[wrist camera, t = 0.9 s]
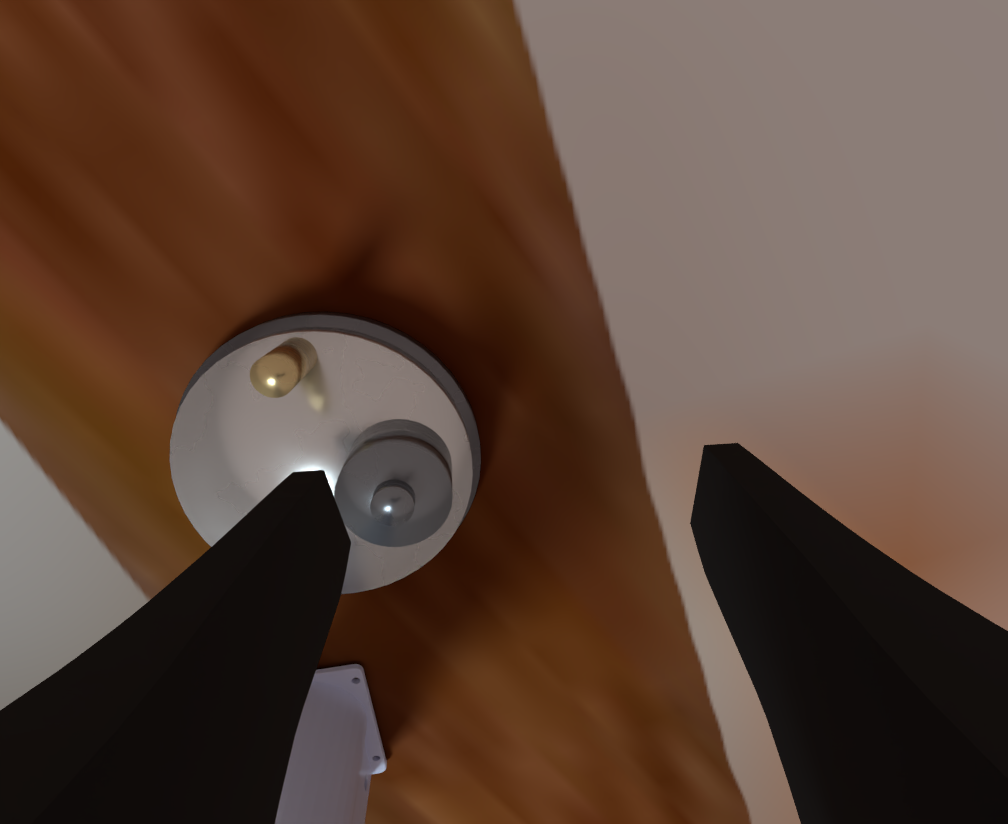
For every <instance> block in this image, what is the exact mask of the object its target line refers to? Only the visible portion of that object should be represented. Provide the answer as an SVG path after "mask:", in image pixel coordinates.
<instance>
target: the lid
mask: <svg viewBox="0 0 1008 824" xmlns="http://www.w3.org/2000/svg"><path fill="white" fill-rule="evenodd" d="M334 498H335V501H336V503H337V506H338V509H339V511H340V514H341V517H342V519H343V522H344V524H345V525H346V526H347V528H348V529H349V530H350V531H352V532H353V533H354V534H355V535H357V536H358V537H360V538H361V539H363V540H365V541H367V542H370V543H373V544H376V545H380V546H386V547H403V546H408V545H413V544H416V543H419V542H421V541H423V540H425V539H427V538H428V537H430V536H431V535H433V534H434V533H435V532H436V531H437V530H438V529H439V528H440V527H441V526H442V525H443V524H444V522H445V521H446V519H447V517H448V515H449V513H450V510H451V506H452V498H453V493H452V460H451V455H450V452H449V450H448V447H447V446H446V444H445V442H444V441H443V440H442V438H441V437H440V436H439V435H438V434H437V433H436V432H435V431H433V430H432V429H431V428H429V427H427V426H426V425H423V424H421V423H419V422H415V421H412V420H406V419H391V420H386V421H382V422H379V423H376V424H374V425H372V426H370V427H369V428H367V429H366V430H365V431H363V432H362V433H361V434H360V435H359V436H358V437H357V438H356V440H355V441H354V443H353V445H352V447H351V449H350V451H349V453H348V456H347V458H346V460H345V462H344V465H343V467H342V469H341V472H340V474H339V476H338V479H337V482H336V485H335V491H334Z"/></svg>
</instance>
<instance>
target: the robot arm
mask: <svg viewBox="0 0 1008 824" xmlns="http://www.w3.org/2000/svg"><path fill="white" fill-rule="evenodd" d="M690 524H691V527H692V530H693V534H694V538H695V541H696V545H697V549H698V552H699V555H700V558H701V562H702V565H703V568H704V572H705V574H706V577H707V579H708V581H709V584H710V586H711V589H712V591H713V593H714V596H715V598H716V600H717V602H718V605H719V607H720V609H721V612H722V614H723V616H724V619H725V621H726V623H727V625H728V628H729V630H730V632H731V635H732V637H733V639H734V642H735V644H736V646H737V648H738V651H739V653H740V655H741V657H742V660H743V662H744V664H745V667H746V669H747V671H748V674H749V676H750V678H751V680H752V683H753V685H754V687H755V689H756V692H757V694H758V697H759V700H760V702H761V705H762V707H763V710H764V712H765V715H766V717H767V720H768V723H769V726H770V729H771V732H772V735H773V738H774V741H775V744H776V747H777V750H778V753H779V756H780V759H781V762H782V765H783V768H784V771H785V774H786V777H787V780H788V783H789V786H790V790H791V793H792V796H793V799H794V803H795V806H796V809H797V812H798V815H799V819H800V821H801V824H1008V631H1007V630H1005V629H1003V628H1001V627H1000V626H998V625H996V624H994V623H993V622H991V621H990V620H988V619H986V618H984V617H983V616H981V615H980V614H978V613H976V612H974V611H973V610H971V609H970V608H968V607H967V606H965V605H963V604H962V603H960V602H958V601H957V600H955V599H953V598H952V597H950V596H948V595H946V594H945V593H943V592H942V591H940V590H938V589H937V588H935V587H934V586H932V585H931V584H929V583H928V582H926V581H924V580H923V579H921V578H920V577H918V576H917V575H915V574H913V573H912V572H910V571H909V570H908V569H906V568H905V567H903V566H902V565H900V564H899V563H897V562H896V561H894V560H893V559H892V558H890V557H889V556H887V555H886V554H884V553H883V552H881V551H880V550H878V549H877V548H875V547H874V546H873V545H871V544H870V543H868V542H867V541H865V540H864V539H862V538H861V537H860V536H858V535H857V534H856V533H854V532H853V531H851V530H850V529H848V528H847V527H846V526H844V525H843V524H842V523H841V522H839V521H838V520H836V519H835V518H834V517H832V516H831V515H830V514H828V513H827V512H826V511H824V510H823V509H822V508H820V507H819V506H818V505H816V504H815V503H814V502H813V501H811V500H810V499H809V498H807V497H806V496H805V495H804V494H802V493H801V492H800V491H798V490H797V489H796V488H795V487H793V486H792V485H791V484H789V483H788V482H787V481H786V480H784V479H783V478H782V477H781V476H779V475H778V474H777V473H776V472H774V471H773V470H772V469H770V468H769V467H768V466H767V465H765V464H764V463H763V462H762V461H760V460H759V459H758V458H757V457H755V456H754V455H753V454H751V453H750V452H749V451H747V450H746V449H745V448H744V447H742V446H741V445H740V444H738V443H734V444H733V443H732V444H717V445H704V448H703V454H702V460H701V465H700V471H699V477H698V483H697V488H696V494H695V500H694V505H693V511H692V517H691V523H690ZM350 547H351V540H350V538H349V535H348V532H347V530H346V527H345V525H344V522H343V519H342V517H341V514H340V511H339V509H338V506H337V503H336V501H335V498H334V495H333V493H332V490H331V487H330V485H329V482H328V479H327V477H326V474H325V471H324V470H315V471H300V472H293V473H291V474H290V475H289V476H288V477H287V478H286V479H284V480H283V481H282V482H281V483H280V484H279V485H278V486H277V487H275V488H274V489H273V490H272V491H271V492H270V493H269V494H268V495H267V496H266V497H265V498H264V499H263V500H261V501H260V502H259V503H258V504H257V505H256V506H255V507H254V508H253V509H252V510H251V511H250V512H249V513H248V514H247V515H246V516H244V517H243V518H242V519H241V520H240V521H239V522H238V523H237V524H236V525H235V526H234V527H233V528H232V529H230V530H229V531H228V532H227V533H226V534H225V535H224V536H223V537H222V538H221V539H220V540H219V541H217V542H216V543H215V544H214V545H213V546H212V547H211V548H210V549H209V550H208V551H207V552H205V553H204V554H203V555H202V556H201V557H200V558H199V559H198V560H196V561H195V562H194V563H193V564H192V565H191V566H189V567H188V568H187V569H186V570H185V571H184V572H182V573H181V574H180V575H179V576H178V577H177V578H175V579H174V580H173V581H172V582H171V583H170V584H169V585H167V586H166V587H165V588H164V589H163V590H162V591H160V592H159V593H158V594H157V595H156V596H155V597H153V598H152V599H151V600H150V601H149V602H148V603H146V604H145V605H144V606H143V607H141V608H140V609H139V610H138V611H137V612H135V613H134V614H133V615H132V616H130V617H129V618H128V619H127V620H125V621H124V622H123V623H121V624H120V625H119V626H118V627H116V628H115V629H114V630H113V631H111V632H110V633H109V634H107V635H106V636H105V637H103V638H102V639H101V640H100V641H98V642H97V643H95V644H94V645H93V646H91V647H90V648H89V649H87V650H86V651H85V652H84V653H82V654H81V655H79V656H78V657H77V658H75V659H74V660H73V661H71V662H70V663H68V664H67V665H66V666H64V667H63V668H62V669H60V670H59V671H57V672H56V673H55V674H53V675H52V676H50V677H49V678H47V679H46V680H44V681H43V682H41V683H40V684H38V685H37V686H35V687H34V688H32V689H31V690H30V691H28V692H27V693H25V694H24V695H23V696H21V697H19V698H18V699H16V700H15V701H13V702H12V703H11V704H9V705H8V706H6V707H5V708H3V709H2V710H0V824H365V816H366V809H367V802H368V795H369V787H370V780H371V774H377V773H381V772H383V771H385V770H386V766H387V761H386V757H385V753H384V749H383V745H382V741H381V737H380V733H379V729H378V725H377V721H376V717H375V713H374V709H373V705H372V701H371V697H370V693H369V689H368V685H367V681H366V677H365V673H364V669H363V667H362V666H361V665H359V664H351V665H345V666H338V667H331V668H325V669H318V670H316V668H317V665H318V662H319V660H320V657H321V654H322V651H323V648H324V645H325V642H326V639H327V636H328V633H329V630H330V627H331V624H332V621H333V617H334V614H335V611H336V608H337V605H338V602H339V599H340V596H341V593H342V588H343V583H344V579H345V574H346V569H347V564H348V558H349V552H350ZM355 678H358V679H355Z"/></svg>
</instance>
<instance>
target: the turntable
mask: <svg viewBox="0 0 1008 824" xmlns="http://www.w3.org/2000/svg"><path fill="white" fill-rule="evenodd" d="M391 419H406V420H412V421H415V422H419V423H421V424H423V425H426V426H427V427H429V428H431V429H432V430H433V431H435V432H436V433H437V434H438V435H439V436H440V437H441V438H442V440H443V441H444V442H445V444H446V446H447V447H448V450H449V452H450V455H451V460H452V493H453V498H452V506H451V510H450V513H449V515H448V517H447V519H446V521H445V522H444V524H443V525H442V526H441V527H440V528H439V529H438V530H437V531H436V532H435V533H434V534H433V535H431V536H430V537H428V538H427V539H425V540H423V541H421V542H419V543H416V544H413V545H408V546H403V547H386V546H380V545H376V544H373V543H370V542H367V541H365V540H363V539H361V538H360V537H358V536H357V535H355V534H354V533H353V532H352V531H350V530H349V529H348V528H347V526H346V525H345V524H344V525H345V527H346V530H347V532H348V535H349V538H350V540H351V547H350V552H349V558H348V564H347V569H346V574H345V579H344V583H343V588H342V593H341V594H347V593H357V592H362V591H367V590H372V589H375V588H379V587H382V586H385V585H388V584H391V583H393V582H395V581H398V580H400V579H402V578H404V577H406V576H408V575H409V574H411V573H413V572H415V571H416V570H418V569H419V568H421V567H422V566H423V565H425V564H426V563H427V562H429V561H430V560H431V559H432V558H433V557H434V556H435V555H436V554H438V553H439V552H440V551H441V550H442V549H443V548H444V546H445V545H446V544H447V542H448V541H449V540H450V539H451V537H452V536H453V535H454V533H455V531H456V529H457V528H458V526H459V524H460V523H461V521H462V518H463V516H464V513H465V511H466V508H467V506H468V502H469V497H470V493H471V487H472V477H473V470H472V454H471V446H470V441H469V436H468V431H467V428H466V426H465V423H464V420H463V417H462V415H461V413H460V411H459V409H458V407H457V405H456V403H455V401H454V399H453V398H452V396H451V395H450V394H449V392H448V391H447V389H446V388H445V386H444V385H443V384H442V383H441V382H440V381H439V380H438V378H437V377H436V376H435V375H434V374H433V373H432V372H431V371H430V370H429V369H428V368H426V367H425V366H424V365H423V364H422V363H420V362H419V361H418V360H417V359H416V358H414V357H412V356H411V355H409V354H408V353H406V352H405V351H403V350H402V349H400V348H398V347H396V346H394V345H392V344H390V343H388V342H386V341H384V340H382V339H379V338H376V337H373V336H370V335H367V334H364V333H361V332H356V331H352V330H347V329H342V328H331V327H302V328H295V329H289V330H283V331H279V332H276V333H272V334H269V335H266V336H263V337H260V338H258V339H256V340H254V341H252V342H250V343H247V344H245V345H243V346H242V347H240V348H238V349H236V350H235V351H233V352H231V353H230V354H228V355H227V356H225V357H224V358H222V359H221V360H219V361H218V362H216V363H215V364H214V365H213V366H212V367H211V368H210V369H208V370H207V371H206V372H205V373H204V374H203V375H202V376H201V377H200V378H199V379H198V381H197V382H196V383H195V384H194V386H193V387H192V388H191V389H190V391H189V392H188V394H187V396H186V398H185V399H184V401H183V403H182V405H181V406H180V409H179V411H178V414H177V417H176V419H175V422H174V425H173V430H172V436H171V441H170V466H171V474H172V480H173V483H174V487H175V490H176V494H177V496H178V499H179V501H180V503H181V505H182V508H183V510H184V512H185V514H186V515H187V517H188V518H189V520H190V522H191V523H192V525H193V526H194V528H195V529H196V530H197V531H198V533H199V534H200V535H201V536H202V538H203V539H204V540H205V541H206V542H207V543H208V544H209V545H210V546H211V547H212V546H213V545H214V544H215V543H216V542H217V541H219V540H220V539H221V538H222V537H223V536H224V535H225V534H226V533H227V532H228V531H229V530H230V529H232V528H233V527H234V526H235V525H236V524H237V523H238V522H239V521H240V520H241V519H242V518H243V517H244V516H246V515H247V514H248V513H249V512H250V511H251V510H252V509H253V508H254V507H255V506H256V505H257V504H258V503H259V502H260V501H261V500H263V499H264V498H265V497H266V496H267V495H268V494H269V493H270V492H271V491H272V490H273V489H274V488H275V487H277V486H278V485H279V484H280V483H281V482H282V481H283V480H284V479H286V478H287V477H288V476H289V475H290V474H291V473H293V472H300V471H315V470H324V471H325V474H326V477H327V479H328V482H329V485H330V487H331V490H332V493H333V495H334V491H335V485H336V482H337V479H338V476H339V474H340V472H341V469H342V467H343V465H344V462H345V460H346V458H347V456H348V453H349V451H350V449H351V447H352V445H353V443H354V441H355V440H356V438H357V437H358V436H359V435H360V434H361V433H362V432H363V431H365V430H366V429H367V428H369V427H370V426H372V425H374V424H376V423H379V422H382V421H386V420H391Z"/></svg>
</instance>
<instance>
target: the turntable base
mask: <svg viewBox="0 0 1008 824" xmlns="http://www.w3.org/2000/svg"><path fill="white" fill-rule="evenodd" d="M302 327H331V328H342V329H347V330H352V331H356V332H361V333H364V334H367V335H370V336H373V337H376V338H379V339H382V340H384V341H386V342H388V343H390V344H392V345H394V346H396V347H398V348H400V349H402V350H403V351H405V352H406V353H408V354H409V355H411V356H412V357H414V358H416V359H417V360H418V361H419V362H420V363H422V364H423V365H424V366H425V367H426V368H428V369H429V370H430V371H431V372H432V373H433V374H434V375H435V376H436V377H437V378H438V380H439V381H440V382H441V383H442V384H443V385H444V386H445V388H446V389H447V391H448V392H449V394H450V395H451V396H452V398H453V399H454V401H455V403H456V405H457V407H458V409H459V411H460V413H461V415H462V417H463V420H464V423H465V426H466V428H467V431H468V436H469V441H470V446H471V454H472V470H473V477H472V487H471V493H470V497H469V502H468V506H467V508H466V511H465V513H464V516H463V518H462V521H463V520H464V518H465V516H466V514H467V513H468V511H469V509H470V506H471V504H472V502H473V499H474V497H475V494H476V490H477V486H478V482H479V476H480V467H481V451H480V440H479V434H478V429H477V424H476V420H475V417H474V414H473V411H472V408H471V405H470V403H469V401H468V399H467V397H466V395H465V393H464V391H463V389H462V387H461V386H460V384H459V383H458V381H457V380H456V378H455V377H454V375H453V374H452V372H451V371H450V370H449V369H448V368H447V367H446V366H445V365H444V364H443V362H442V361H441V360H440V359H439V358H438V357H437V356H436V355H434V354H433V353H432V352H431V351H430V350H429V349H427V348H426V347H425V346H424V345H423V344H421V343H419V342H418V341H416V340H415V339H413V338H412V337H410V336H409V335H407V334H406V333H404V332H402V331H400V330H398V329H396V328H393V327H391V326H389V325H387V324H384V323H381V322H379V321H376V320H373V319H370V318H366V317H362V316H357V315H353V314H348V313H337V312H304V313H298V314H292V315H287V316H282V317H279V318H276V319H273V320H269V321H266V322H264V323H261V324H259V325H257V326H255V327H253V328H251V329H249V330H247V331H245V332H243V333H241V334H239V335H237V336H236V337H234V338H233V339H231V340H230V341H228V342H227V343H225V344H224V345H222V346H221V347H220V348H218V349H217V350H216V351H215V352H214V353H213V354H212V355H211V356H210V357H209V358H208V359H206V360H205V362H204V363H203V364H202V365H201V367H200V368H199V369H198V370H197V372H196V373H195V374H194V375H193V377H192V379H191V381H190V382H189V384H188V386H187V388H186V390H185V391H184V394H183V396H182V399H181V402H180V404H179V407H178V410H177V414H178V411H179V409H180V406H181V405H182V403H183V401H184V399H185V398H186V396H187V394H188V392H189V391H190V389H191V388H192V387H193V386H194V384H195V383H196V382H197V381H198V379H199V378H200V377H201V376H202V375H203V374H204V373H205V372H206V371H207V370H208V369H210V368H211V367H212V366H213V365H214V364H215V363H216V362H218V361H219V360H221V359H222V358H224V357H225V356H227V355H228V354H230V353H231V352H233V351H235V350H236V349H238V348H240V347H242V346H243V345H245V344H247V343H250V342H252V341H254V340H256V339H258V338H260V337H263V336H266V335H269V334H272V333H276V332H279V331H283V330H289V329H295V328H302ZM176 417H177V415H176ZM462 521H461V523H462ZM461 523H460V524H459V526H460V525H461ZM459 526H458V527H459ZM456 530H457V529H456Z"/></svg>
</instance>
